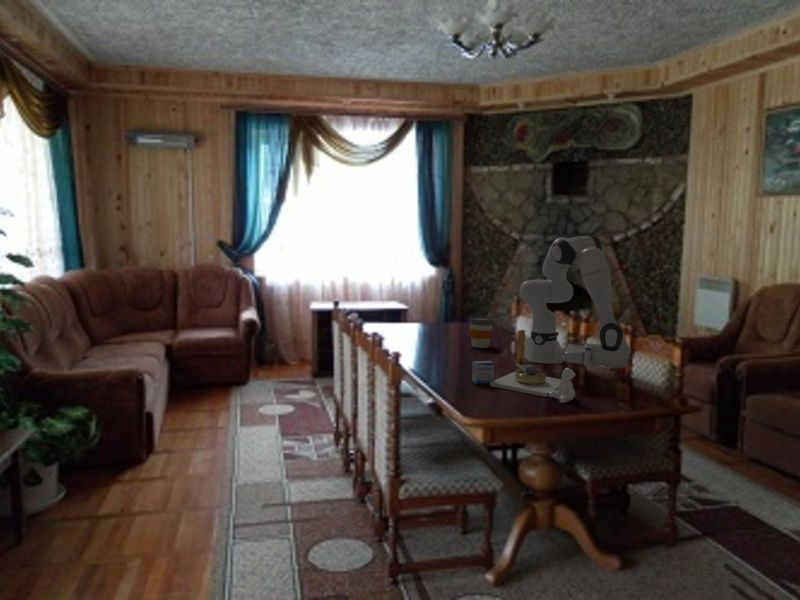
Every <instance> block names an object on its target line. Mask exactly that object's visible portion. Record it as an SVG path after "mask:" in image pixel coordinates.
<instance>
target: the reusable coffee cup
mask: <svg viewBox="0 0 800 600" xmlns="http://www.w3.org/2000/svg"><path fill="white" fill-rule="evenodd" d="M493 325H494V318H493V317H488V316H470V317H469V336H470V339H471V340H470V341H471V347H473V348H477V349H487V348H489V347H490V341H491V339H492V336H493V335H492V334H493Z"/></svg>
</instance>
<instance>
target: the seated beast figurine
mask: <svg viewBox="0 0 800 600" xmlns="http://www.w3.org/2000/svg"><path fill="white" fill-rule="evenodd" d="M562 371H563V372H561V378H560V379H561V382H560V383H559V390H558V391H551V392H549V396H548V397H549V398H551V399H552V398H553V399H555V400H556V399H557V400H559V402H560V404H561V403H562V404H565V403H567V402H570V401H573V400H574V398H575V396H576V395H577V394H576V392H575V388H574V387H573V386H574V384H573V383H572V381H571V380H572V379H573V378H575V377H576V372H574V371H573V369H571V368H569V367H565V368H564V370H562Z"/></svg>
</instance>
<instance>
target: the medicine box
mask: <svg viewBox="0 0 800 600" xmlns="http://www.w3.org/2000/svg"><path fill="white" fill-rule="evenodd" d="M471 363H472V365H471V366H472V367H471V381H472V382H473V384H475V385H484V384H485V385H486V384H490V382H492V381H494V373H495V372H494V371H495V362H493V361H492V360H478V361H477V360H476V361H473V360H472V362H471Z"/></svg>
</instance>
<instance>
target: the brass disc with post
mask: <svg viewBox="0 0 800 600" xmlns="http://www.w3.org/2000/svg"><path fill="white" fill-rule="evenodd" d="M525 339H526V330H525V329H518V330H517V341H516V343H517V344H516V345H517V346H516V358H515V359H516V361H515V366H516V367H518V368H516V369H515V371H516V377H515V381H516V382H518V383H521V384H526V385H542V384H545V382H546V377H547V374H546V373H544V372H542V371H540V368H536V374H527V373H526V365H527V364H526V363H524V361H525V360H524V359H525V358H524V355H525V341H526V340H525Z"/></svg>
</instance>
